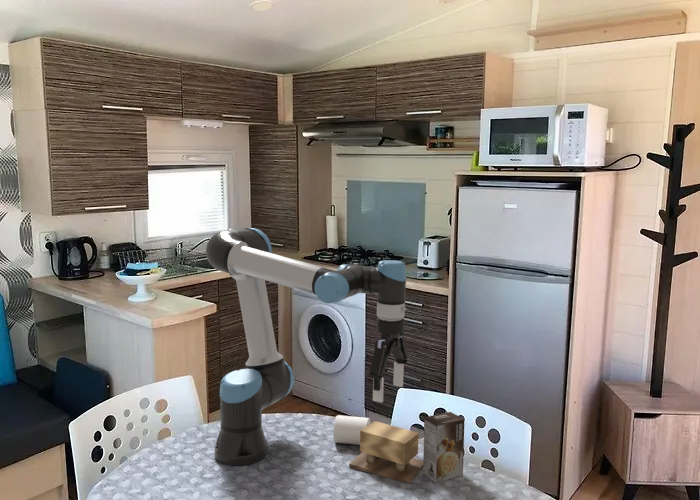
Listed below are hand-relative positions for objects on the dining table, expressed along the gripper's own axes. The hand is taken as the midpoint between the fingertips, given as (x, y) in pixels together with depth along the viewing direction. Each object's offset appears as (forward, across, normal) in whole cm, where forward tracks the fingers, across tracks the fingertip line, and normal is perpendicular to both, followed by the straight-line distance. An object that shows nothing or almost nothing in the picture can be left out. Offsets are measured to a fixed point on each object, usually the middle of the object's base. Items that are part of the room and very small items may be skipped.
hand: (388, 393), depth 161 cm
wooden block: (+17, 0, -1) cm, 17 cm away
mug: (+21, +10, +16) cm, 28 cm away
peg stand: (+21, 0, 0) cm, 21 cm away
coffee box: (+21, +3, -16) cm, 26 cm away
